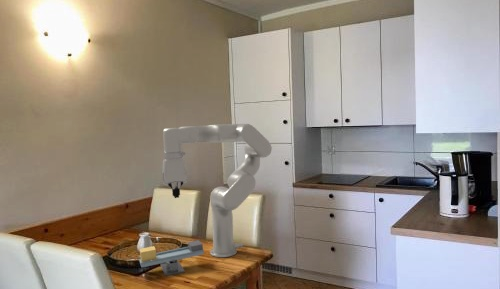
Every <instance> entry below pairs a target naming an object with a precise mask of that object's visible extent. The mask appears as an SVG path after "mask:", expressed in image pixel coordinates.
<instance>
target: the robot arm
mask: <svg viewBox="0 0 500 289" xmlns="http://www.w3.org/2000/svg"><path fill="white" fill-rule="evenodd" d="M162 135H163V139H162V140H163V152H164V159H163V160H162V167H161V168H162V171H161V172H162V180H163V183H162V184H163V186H167V187H170V188H171V190H172V191H171V192H172V197H173V198H174V199H177V198H180V196H181V189H180V188H181V187H182V186H183V185H185V184H187V183H188V174H187V172H188V171H187V166H186V161H185V159H184V156H186V152H184V151H183V150H182V149H183V148H182V144H194V143H213V144H217V143H220V144H221V143H239V142H240V143H241V142H243V143H245V145H244V160H243V161H242V162H241V164H240V165H239V166H238V167H237V168H236V169H235V170H234V171H232V173H231V174H229V176H228V178H227V182H226V183H227V186H228V187H226V186H217V187H214V188H213V190H212V191H211V193H210V197H209V200H210V201H209V202H210V207H211V215H212V216H211V217H212V243H213V244H212V249H211V250H210V251H209V253H210V256H212V257H215V258H229V257H232V256H235V255H236V254H237V253H238V252H237V251H238V250H237V249H239V248H243V247H244V244H243V243H242V242H241V243H239V242H234V228H233V227H234V225H233V224H234V223H233V222H234V220H233V211H234V210H236V209H238V208H239V207H240V206H241V205H242V204H243V203H244V202H245V201H246V200H247V199H248V197H249V196H250V195H251V194H252V193H253V192H254V190H255V188H256V184H257V182H256V178H255V175H256V174H257V172H258V171H259V169H260V164H261V159H263V158H267V157H268V156H270V155H271V153H272V150H273V149H272V148H273V147H272V144H271V143H270V141H269V140H268V139H267V138H266V137H265V136H264V135H263V134H262V133H261V132H260V131H259V130H257V128H256V127H255V126H254V125H251V124H250V123H228V124H227V123H226V124H222V123H221V124H209V125H195V126H194V125H193V126H189V125H187V126H186V125H185V126H179V127H170V128H169V127H168V128H167V127H166V128H164V129H163V131H162ZM175 183H176V184H175ZM175 186H176V187H175Z"/></svg>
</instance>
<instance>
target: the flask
mask: <svg viewBox="0 0 500 289" xmlns="http://www.w3.org/2000/svg"><path fill="white" fill-rule="evenodd" d="M147 247H152V243H151V235H145V236H143V247H142V248H147Z"/></svg>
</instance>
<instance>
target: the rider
mask: <svg viewBox="0 0 500 289" xmlns="http://www.w3.org/2000/svg"><path fill="white" fill-rule="evenodd" d="M151 246H152V245H151ZM156 253H157V250H156V247H155V246H154V245H153V246H152V247H147V248H143V247H142V248H139V256H140V258H141V262H144V261H149V260H154V259H157V257H156Z"/></svg>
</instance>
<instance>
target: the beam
mask: <svg viewBox="0 0 500 289" xmlns="http://www.w3.org/2000/svg"><path fill="white" fill-rule="evenodd" d="M204 252H205V250H204V247H203V243H202V241H200V240H197V239H196V240H193V241H187V246H183V247H180V248H174V249H169V250H164V251H160V252H156V257H157V259H154V260H149V261H144V262H141V258H140V255H139V256H138V260H139V264H140V267H141V268H146V267H150V266H157V265H159V264H160V265H161V264H165V263H166V262H170V261H173V262H175V260H177V261H179V260H183V259H189V258H193V257H197V256H202V255H204V254H205V253H204Z"/></svg>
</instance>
